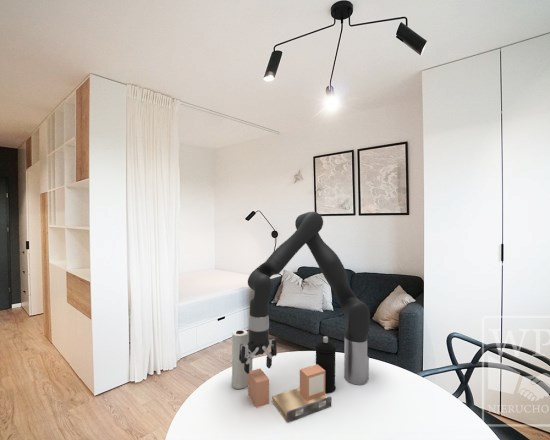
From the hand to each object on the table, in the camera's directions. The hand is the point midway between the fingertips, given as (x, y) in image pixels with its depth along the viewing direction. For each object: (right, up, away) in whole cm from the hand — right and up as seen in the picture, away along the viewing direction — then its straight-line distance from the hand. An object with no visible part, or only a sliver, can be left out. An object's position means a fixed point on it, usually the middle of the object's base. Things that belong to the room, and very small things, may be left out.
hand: (257, 370), depth 102 cm
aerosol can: (+27, -11, +8) cm, 30 cm away
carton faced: (+20, -9, 0) cm, 22 cm away
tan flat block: (+16, -11, -2) cm, 19 cm away
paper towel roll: (-7, -11, +8) cm, 16 cm away
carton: (0, -11, 0) cm, 11 cm away
